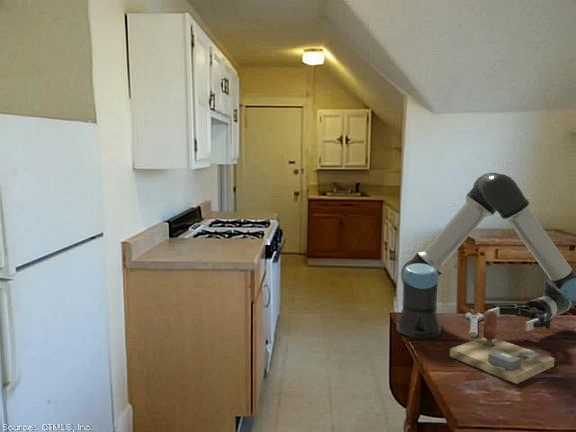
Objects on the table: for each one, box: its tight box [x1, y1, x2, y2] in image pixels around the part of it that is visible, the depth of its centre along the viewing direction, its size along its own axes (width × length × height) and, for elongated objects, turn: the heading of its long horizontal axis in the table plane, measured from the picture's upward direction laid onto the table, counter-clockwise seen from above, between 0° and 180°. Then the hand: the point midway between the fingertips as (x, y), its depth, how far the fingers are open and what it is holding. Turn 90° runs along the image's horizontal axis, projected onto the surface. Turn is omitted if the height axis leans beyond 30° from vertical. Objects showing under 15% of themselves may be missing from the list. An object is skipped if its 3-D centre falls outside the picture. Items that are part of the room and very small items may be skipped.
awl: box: [482, 310, 498, 347], centre depth 152 cm, size 4×4×13 cm
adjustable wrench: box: [464, 312, 484, 338], centre depth 177 cm, size 25×6×2 cm, turn 153°
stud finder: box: [488, 350, 521, 371], centre depth 138 cm, size 7×5×2 cm
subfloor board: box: [449, 336, 555, 385], centre depth 146 cm, size 22×20×3 cm
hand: (506, 320), depth 156 cm, fingers open, 13 cm apart
